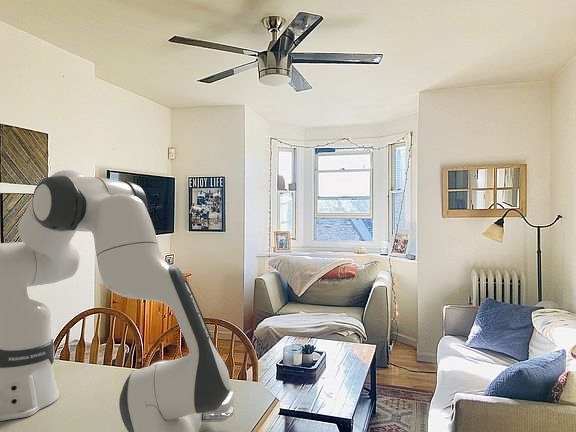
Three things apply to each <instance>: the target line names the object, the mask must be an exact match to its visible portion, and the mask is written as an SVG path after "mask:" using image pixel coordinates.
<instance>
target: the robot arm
mask: <svg viewBox="0 0 576 432" xmlns="http://www.w3.org/2000/svg"><path fill="white" fill-rule="evenodd" d="M32 194H33V195H32V199H31V201H30V203H29V205H27V208H26V209H25V211H24V213H23V215H22V216H21V218H20V221H19V222H18V228H17V230H18V235H19V238H20V240H21V241H18V242H17V241H15V242H0V422H1V421H7V420H14V419H21V418H27V417H30V416H33V415H34V414H36V413H37V412H38V411H40V410H41V409H43V408H46V407H48V406H49V405H51V404H53V403H55V402H56V401H57V400H58V399H59V398H60V395H61V393H60V391H59V389H58V386H57V382H56V378H55V377H56V376H55V371H54V361H55V344H54V339H53V338H52V311H51V310H50V308H49V307H48V306H47V305H46V304H45V303H43V302H40V301H38V300H34V299H31V298H30V296H29V295H28V288H29V287H36V286H37V287H38V286H43V285H49V284H54V283H59V282H61V281H64V280H68V279H70V278H72V277H73V276H74V275H76V273H77V272H78V269H79V266H80V262H81V260H80V254H79V251H78V249H77V248H76V246H74V245H73V244H72V243H71V241H72V239H73V238H74V236H75V234H76V233H77V232H91V233H92V235H93V241H94V250H95V256H96V262H97V266H98V271H99V275H100V278H101V281H102V282H103V285H105V287H106V288H107V289H109V290H110V291H111V292H112V293H113V294H115V295H118V296H120V297H124V298H126V299H127V298H128V299H132V300H135V299H136V300H143V301H145V300H146V301H153V302H157V303H162V304H164V305H166V306H167V307H169V308H170V309H171V310H172V312H173V314H174V316H175V319H176V321H177V323H178V325H179V328H180V331H181V332H182V336H183V337H184V338H183V339H184V340H185V342H186V346H187V348H188V351H189V353H188V354H187V355H186V356H183V357H178V358H175V359H172V360H171V359H170V360H171V361H168V362H164V363H159V364H155V365H151V364H150V365H149V366H145V367H141V368H138V369H136V370H135V369H134V370H133V371H132V372H131V373H129V375H128V376H127V378H126V380H125V381H124V384H123V385H122V386H123V387H122V390H120V391H121V392H120V395H119V407H118V408H119V412H120V417H121V420H122V422H123V425H124V427H125V429H126V430H127V432H200V429H201V425H202V423H218V422H219V423H221V422H224V421H227V420H229V418H231V417H233V416H234V413H235V392H234V391H233V390H231V378H230V374H229V370H228V368H227V365H226V363H225V362H224V360H223V358H222V356H221V355H220V353H219V351H218V348H217V346H216V344H215V342H214V340H213V337H212V335H211V333H210V331H209V328H208V326H207V325H208V324H207V323H206V321H205V319H204V316H203V314H202V311H201V308H200V307H199V304H198V302H197V300H196V296H195V295H194V292H193V290H192V289H191V286H190V284H189V282H188V279H186V276H185V274H184V273H183V272H182V271H181V270H180V268H178V267H176V266H174V265H173V266H172V265H170V264H169V263H168V262H167V261H166V259H165V258H164V257H163V255H162V253H161V251H160V247H159V241H158V238H157V235H156V230H155V227H154V225H153V222H152V219H151V217H150V214H149V211H148V199H147V196H146V193H145V191H144V190H143V188H142V187H141V186H140V185H137V184H136V183H133V182H131V181H127V180H115V179H112V178H106V177H99V176H93V177H92V176H87V177H86V176H85V175H84V174H82V173H80V172H78V171H74V170H70V169H69V170H68V169H64V170H59V171H57V172H54V173H53V174H52V175H51V176H47V177H44V178H43V179H41V181H39V183H37V185H36V186H35V189H34V192H33V193H32Z"/></svg>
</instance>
